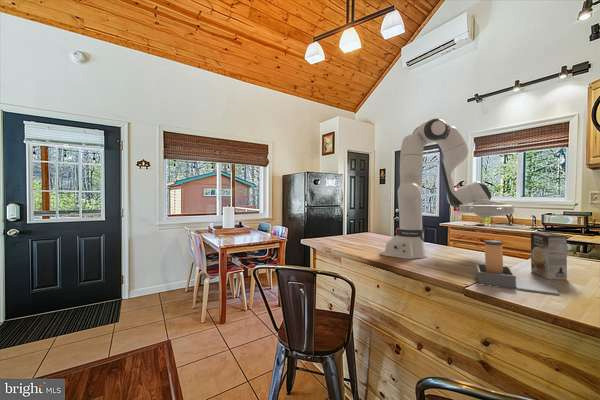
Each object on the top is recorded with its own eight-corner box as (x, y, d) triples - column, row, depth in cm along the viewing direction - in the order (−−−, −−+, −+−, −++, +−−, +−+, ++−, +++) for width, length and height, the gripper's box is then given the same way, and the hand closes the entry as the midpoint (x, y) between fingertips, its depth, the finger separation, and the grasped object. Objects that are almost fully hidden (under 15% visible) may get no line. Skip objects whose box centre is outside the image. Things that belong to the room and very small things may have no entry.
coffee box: (530, 271, 99) (529, 232, 99) (548, 272, 98) (548, 232, 98) (547, 279, 90) (547, 235, 90) (568, 279, 89) (568, 235, 89)
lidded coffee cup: (486, 281, 89) (485, 242, 89) (484, 276, 93) (483, 240, 93) (505, 283, 86) (503, 243, 86) (502, 278, 91) (500, 240, 91)
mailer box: (478, 284, 87) (478, 272, 87) (476, 274, 97) (476, 263, 97) (559, 295, 76) (559, 281, 76) (547, 283, 86) (547, 270, 86)
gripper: (458, 201, 126) (458, 202, 115) (510, 202, 115) (516, 203, 104) (458, 213, 126) (458, 216, 115) (510, 215, 115) (515, 218, 104)
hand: (486, 210), depth 109 cm, fingers open, 8 cm apart
